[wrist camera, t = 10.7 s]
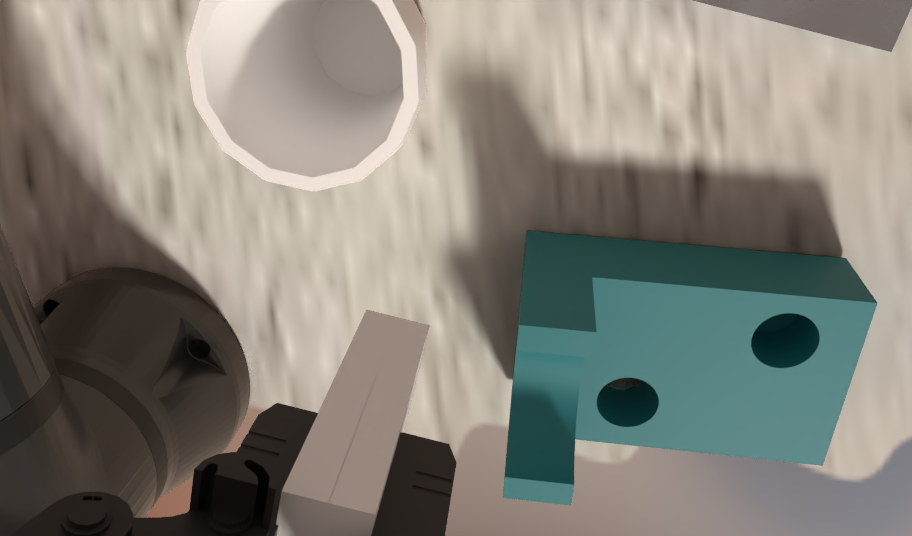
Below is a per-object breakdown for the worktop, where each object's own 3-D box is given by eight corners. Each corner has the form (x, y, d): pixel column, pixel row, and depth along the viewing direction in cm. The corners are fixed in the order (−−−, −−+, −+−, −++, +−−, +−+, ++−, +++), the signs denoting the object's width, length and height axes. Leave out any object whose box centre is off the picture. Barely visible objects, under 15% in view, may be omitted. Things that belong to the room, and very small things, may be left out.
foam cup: (457, 123, 45) (423, 191, 33) (297, 125, 46) (207, 191, 34) (451, -59, 41) (410, -58, 29) (277, -53, 42) (169, -49, 30)
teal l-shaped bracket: (512, 381, 51) (502, 497, 42) (526, 230, 46) (519, 324, 37) (799, 410, 50) (853, 537, 41) (845, 258, 45) (919, 363, 36)
